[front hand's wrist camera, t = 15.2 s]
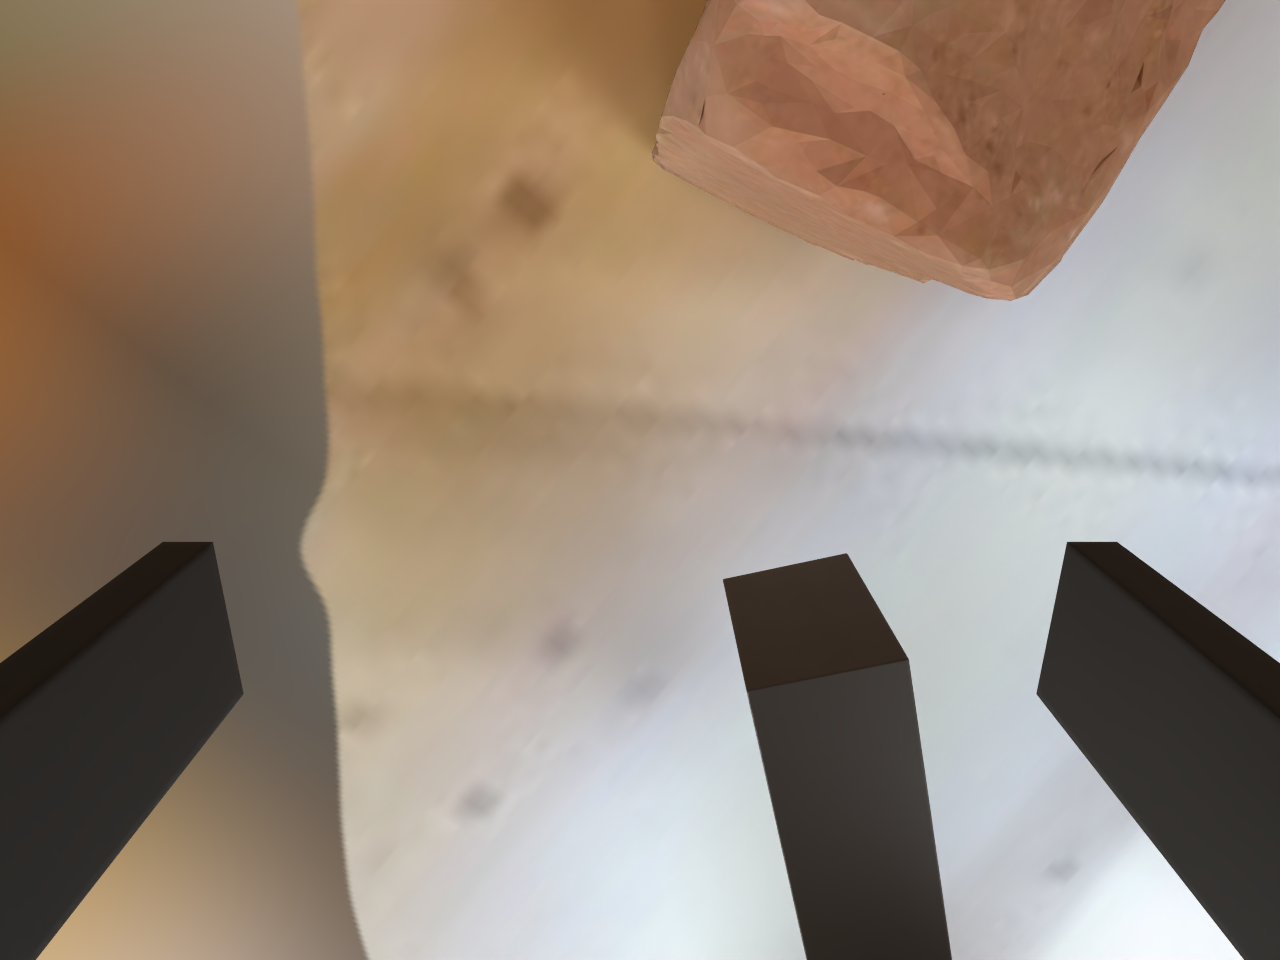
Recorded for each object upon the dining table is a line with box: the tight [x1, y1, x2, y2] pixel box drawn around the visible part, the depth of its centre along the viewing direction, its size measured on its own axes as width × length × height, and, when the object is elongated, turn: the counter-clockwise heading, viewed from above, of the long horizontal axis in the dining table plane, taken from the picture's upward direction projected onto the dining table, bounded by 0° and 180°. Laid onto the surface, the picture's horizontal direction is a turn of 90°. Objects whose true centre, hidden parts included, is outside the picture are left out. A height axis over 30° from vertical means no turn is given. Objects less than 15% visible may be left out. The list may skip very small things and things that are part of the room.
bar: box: [723, 554, 952, 960], centre depth 37 cm, size 27×6×9 cm, turn 13°
